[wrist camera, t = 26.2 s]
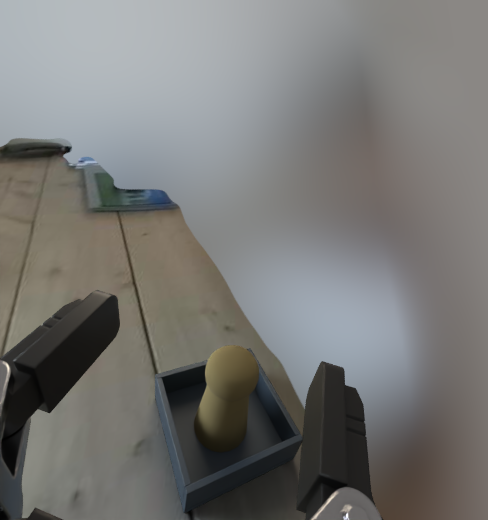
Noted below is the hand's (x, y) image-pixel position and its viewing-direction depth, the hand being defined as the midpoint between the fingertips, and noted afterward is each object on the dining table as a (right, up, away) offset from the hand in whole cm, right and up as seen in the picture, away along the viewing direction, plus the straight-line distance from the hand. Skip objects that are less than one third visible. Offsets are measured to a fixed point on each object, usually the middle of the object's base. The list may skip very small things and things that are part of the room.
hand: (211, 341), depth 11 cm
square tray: (-1, -16, +23) cm, 28 cm away
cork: (-1, -16, +23) cm, 27 cm away
